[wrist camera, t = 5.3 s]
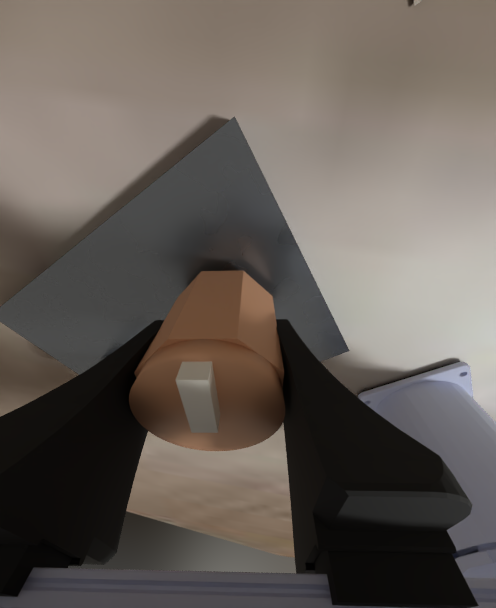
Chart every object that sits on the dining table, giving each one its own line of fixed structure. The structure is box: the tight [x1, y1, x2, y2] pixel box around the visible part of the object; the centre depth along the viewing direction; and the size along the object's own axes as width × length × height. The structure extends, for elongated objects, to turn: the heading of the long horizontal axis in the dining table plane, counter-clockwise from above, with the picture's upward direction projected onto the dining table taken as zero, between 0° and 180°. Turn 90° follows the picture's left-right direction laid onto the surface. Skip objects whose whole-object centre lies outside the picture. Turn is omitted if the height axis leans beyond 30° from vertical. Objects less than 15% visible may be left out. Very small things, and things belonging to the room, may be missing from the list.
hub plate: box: [0, 117, 349, 375], centre depth 13 cm, size 14×18×5 cm
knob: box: [129, 271, 285, 451], centre depth 9 cm, size 5×5×6 cm
